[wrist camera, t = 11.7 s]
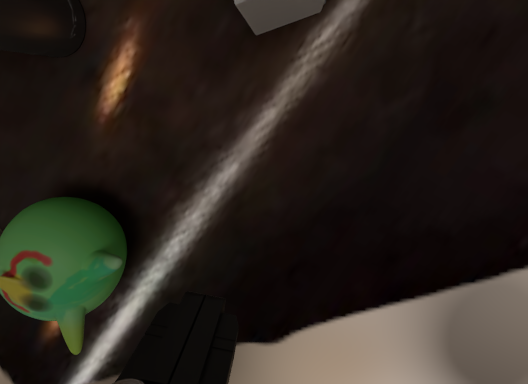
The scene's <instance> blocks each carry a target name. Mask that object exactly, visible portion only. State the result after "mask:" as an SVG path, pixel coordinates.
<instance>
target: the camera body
mask: <svg viewBox="0 0 528 384" xmlns="http://www.w3.org/2000/svg"><path fill="white" fill-rule="evenodd" d="M234 2H235V5H236V7H237V8H238V10H239V11H240V13H241V14H242V16H243V17H244V18H245V20H246V21H247V23H248V24H249V26H250V27H251V29H252V30H253V32H254V33H255V34H256V35H259V34H262V33H264V32H267V31H270V30H273V29H275V28H278V27H281V26H284V25H286V24H289V23H292V22H295V21H297V20H300V19H303V18H306V17H308V16H311V15H314V14H317V13H319V12H321V10H322V7H323V4H325V3H326V0H234Z"/></svg>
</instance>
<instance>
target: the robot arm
mask: <svg viewBox="0 0 528 384" xmlns="http://www.w3.org/2000/svg"><path fill="white" fill-rule="evenodd" d="M84 34H85V18H84V13H83V10H82V6H81V4H80V2H79V0H0V50H5V51H13V52H20V53H28V54H35V55H43V56H51V57H65V56H68V55H70V54H72V53H73V52H75V51H76V50H77V49H78V48H79V46H80V45H81V43H82V41H83V38H84ZM225 301H226V299H225V298H220V297H215V296H210V295H207V296H206V295H205V294H200V293H195V292H189V291H187V292H186V293H185V295H184V297H183V299H182V301H181V303H180V304H174V303H168V304H167V305H166V306H165V307H163V308H162V309H161V310H159V311H158V313H157V314H156V316H155V318H154V319H153V321H152V323H151V325H150V326H149V328H148V329H147V331H146V333H145V335H144V336H143V338H142V339H141V341H140V343H139V344H138V346H137V348H136V349H135V351H134V353H133V354H132V356H131V358H130V359H129V361H128V363H127V364H126V366H125V368H124V369H123V371H122V373H121V374H120V376H119V377H118V379H117V380H116V381H115V382H114V383H113V384H228V382H229V377H230V373H231V368H232V363H233V359H234V353H235V347H236V341H237V335H238V329H239V327H238V323H237V319H236V315H230V314H225V313H224V309H225Z"/></svg>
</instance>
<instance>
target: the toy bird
mask: <svg viewBox="0 0 528 384" xmlns="http://www.w3.org/2000/svg"><path fill="white" fill-rule="evenodd" d="M126 257H127V244H126V238H125V235H124V232H123V229H122V227H121V226H120V224H119V222H118V221H117V220H116V219H115V217H114V216H113V215H112V214H111V213H109V212H108V211H107V210H106V209H104V208H103V207H101V206H99V205H98V204H96V203H93V202H91V201H88V200H85V199H80V198H74V197H56V198H50V199H45V200H42V201H39V202H37V203H34V204H32V205H30V206H29V207H27V208H25V209H24V210H23V211H21V212H20V213H19V214H18V215H17V216H16V217H14V219H13V220H12V221H11V222H10V223H9V224H8V226H7V227H6V228H5V230H4V231H3V233H2V235H1V237H0V293H1V295H2V296H3V298H4V299H5V300H6V301H7V302H8V303H9V304H10V305H11V306H12V307H14V308H15V309H16V310H18V311H19V312H21V313H23V314H25V315H27V316H30V317H32V318H36V319H40V320H47V321H57V322H58V324H59V327H60V329H61V332H62V334H63V337H64V339H65V341H66V343H67V346H68V348H69V349H70V351H71V352H72V353H73V354H75V355H77V354H79V353H80V351H81V348H82V343H83V334H84V318H85V314H86V313H88V312H90V311H92V310H93V309H95V308H96V307H98V306H99V305H100V304H101V303H103V302H104V301H105V300H106V299H107V298H108V296H109V295H110V294H111V293H112V291H113V290H114V289H115V287H116V285H117V284H118V282H119V280H120V278H121V276H122V273H123V270H124V267H125V263H126Z"/></svg>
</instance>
